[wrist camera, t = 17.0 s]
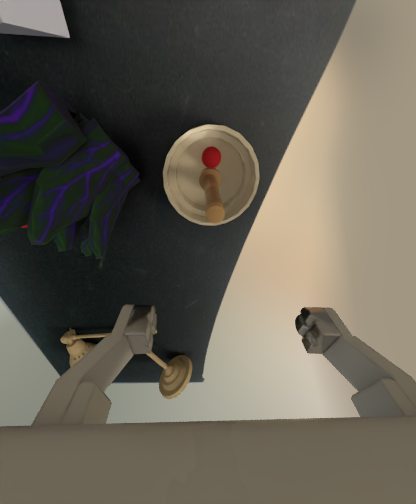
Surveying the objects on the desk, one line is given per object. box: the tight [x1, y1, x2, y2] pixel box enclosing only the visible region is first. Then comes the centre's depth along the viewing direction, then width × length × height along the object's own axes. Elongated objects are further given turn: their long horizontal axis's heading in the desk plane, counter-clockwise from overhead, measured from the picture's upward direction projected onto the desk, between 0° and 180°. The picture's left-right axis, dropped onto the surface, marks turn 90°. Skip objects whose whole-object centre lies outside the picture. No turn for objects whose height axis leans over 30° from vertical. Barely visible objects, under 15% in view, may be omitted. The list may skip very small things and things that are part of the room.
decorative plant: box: [0, 79, 141, 260], centre depth 26 cm, size 21×26×30 cm
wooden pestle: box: [199, 168, 225, 223], centre depth 26 cm, size 4×4×16 cm
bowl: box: [163, 124, 259, 226], centre depth 31 cm, size 15×15×6 cm
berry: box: [202, 146, 221, 168], centre depth 29 cm, size 3×3×3 cm
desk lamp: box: [60, 327, 192, 399], centre depth 64 cm, size 15×35×40 cm
